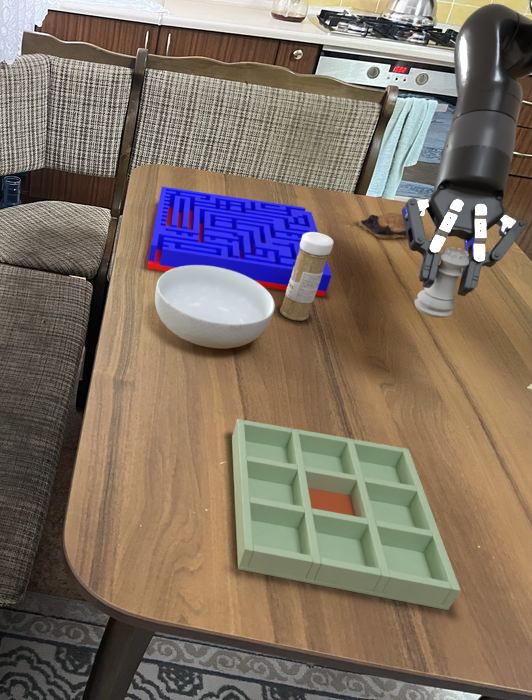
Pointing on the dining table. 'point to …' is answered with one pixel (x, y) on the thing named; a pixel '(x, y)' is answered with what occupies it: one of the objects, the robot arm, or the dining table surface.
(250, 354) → the dining table surface
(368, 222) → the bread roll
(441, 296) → the rook chess piece
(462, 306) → the dining table surface
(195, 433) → the dining table surface
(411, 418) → the dining table surface
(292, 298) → the sprinkles bottle
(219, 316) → the cereal bowl
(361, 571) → the grid
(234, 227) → the maze
